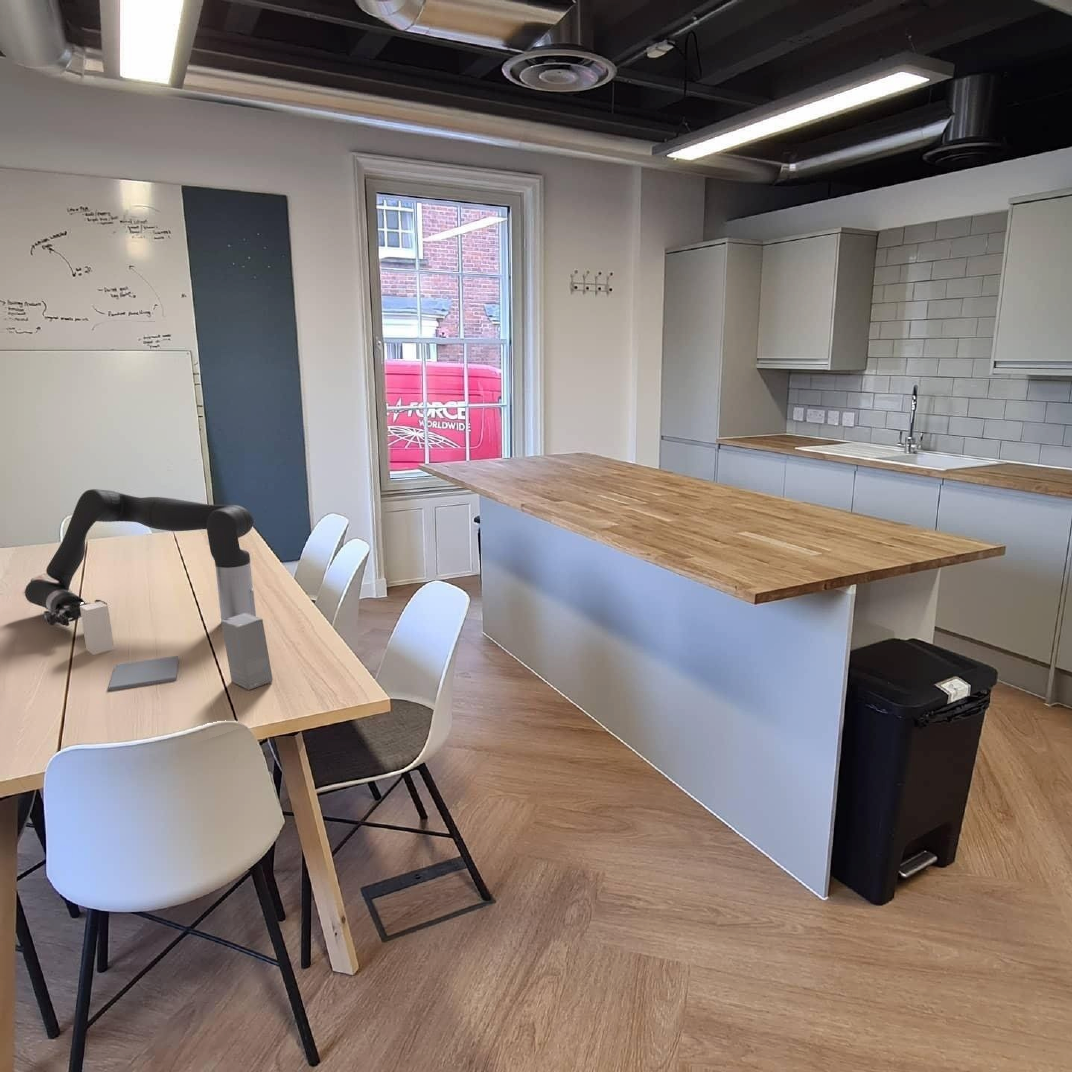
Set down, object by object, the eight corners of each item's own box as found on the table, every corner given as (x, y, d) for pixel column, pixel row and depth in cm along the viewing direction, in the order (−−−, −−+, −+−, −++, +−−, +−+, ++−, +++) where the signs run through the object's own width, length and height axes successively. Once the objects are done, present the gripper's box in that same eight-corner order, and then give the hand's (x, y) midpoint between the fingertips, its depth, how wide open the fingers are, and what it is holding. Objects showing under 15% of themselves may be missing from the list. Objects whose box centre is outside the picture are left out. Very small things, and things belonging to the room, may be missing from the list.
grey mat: (178, 658, 192) (178, 655, 191) (176, 680, 179) (175, 677, 179) (115, 667, 186) (115, 664, 186) (108, 690, 174) (108, 687, 174)
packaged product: (71, 581, 242) (34, 587, 236) (73, 595, 243) (37, 602, 237) (59, 569, 255) (23, 575, 249) (61, 583, 256) (26, 589, 250)
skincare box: (273, 682, 178) (267, 618, 174) (244, 692, 173) (237, 626, 169) (255, 672, 183) (248, 610, 179) (226, 682, 178) (219, 618, 174)
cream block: (107, 644, 202) (100, 601, 199) (114, 649, 198) (107, 605, 195) (86, 649, 198) (79, 606, 195) (93, 654, 195) (86, 610, 192)
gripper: (33, 598, 207) (52, 611, 196) (91, 586, 217) (112, 598, 206) (38, 624, 209) (57, 638, 198) (95, 611, 219) (116, 624, 208)
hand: (85, 618), depth 202 cm, fingers open, 8 cm apart
